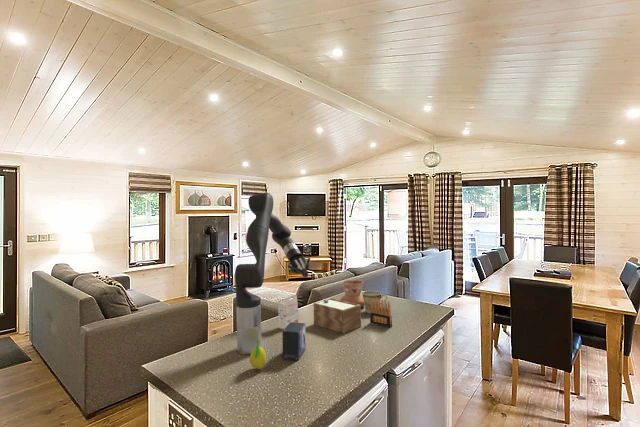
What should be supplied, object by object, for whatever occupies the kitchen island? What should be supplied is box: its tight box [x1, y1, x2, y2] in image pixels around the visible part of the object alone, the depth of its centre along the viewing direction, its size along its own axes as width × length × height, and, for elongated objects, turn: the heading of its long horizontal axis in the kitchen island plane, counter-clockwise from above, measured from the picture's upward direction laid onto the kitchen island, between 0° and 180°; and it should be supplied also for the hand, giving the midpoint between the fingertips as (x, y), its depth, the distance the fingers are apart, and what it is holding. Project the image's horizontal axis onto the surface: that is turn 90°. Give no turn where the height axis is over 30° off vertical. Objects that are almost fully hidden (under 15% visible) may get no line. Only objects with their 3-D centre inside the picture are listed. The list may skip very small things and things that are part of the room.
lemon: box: [249, 340, 267, 370], centre depth 113 cm, size 7×6×10 cm
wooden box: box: [313, 298, 362, 334], centre depth 157 cm, size 19×12×10 cm, turn 45°
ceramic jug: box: [339, 279, 365, 308], centre depth 189 cm, size 18×14×14 cm
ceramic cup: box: [361, 290, 388, 314], centre depth 177 cm, size 13×10×10 cm
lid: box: [316, 299, 356, 310], centre depth 157 cm, size 18×10×2 cm, turn 45°
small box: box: [281, 322, 306, 362], centre depth 125 cm, size 11×6×10 cm, turn 168°
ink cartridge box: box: [277, 294, 299, 330], centre depth 156 cm, size 9×5×15 cm, turn 143°
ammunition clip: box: [369, 298, 393, 328], centre depth 156 cm, size 11×2×12 cm, turn 50°
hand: (306, 275), depth 162 cm, fingers closed
